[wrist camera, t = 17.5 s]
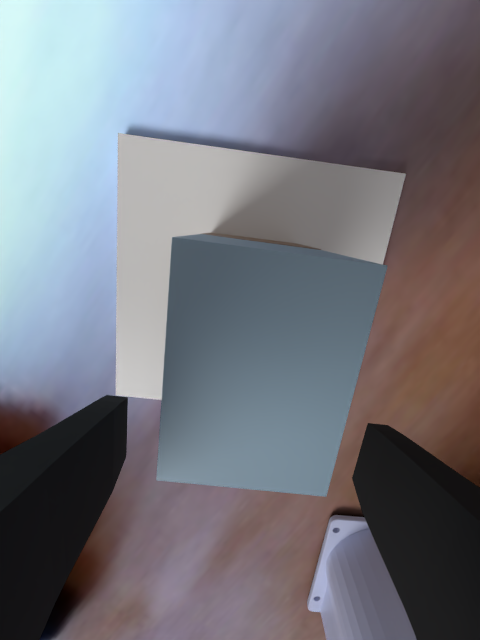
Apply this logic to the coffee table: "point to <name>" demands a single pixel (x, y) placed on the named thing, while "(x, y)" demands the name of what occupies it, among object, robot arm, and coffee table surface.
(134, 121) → the coffee table surface
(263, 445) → the slate-blue brick
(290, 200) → the baseplate
